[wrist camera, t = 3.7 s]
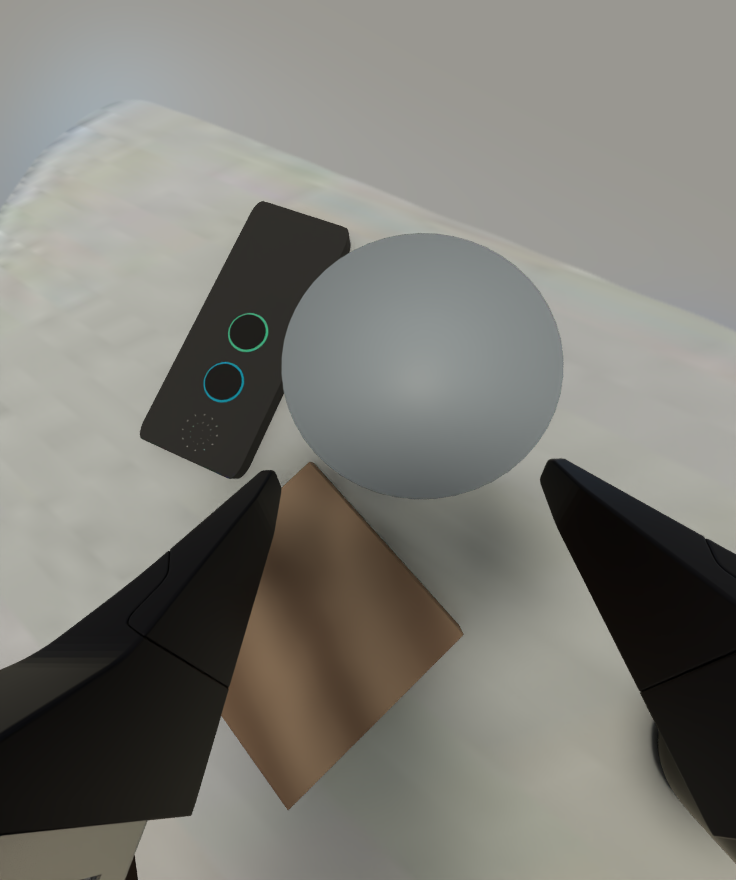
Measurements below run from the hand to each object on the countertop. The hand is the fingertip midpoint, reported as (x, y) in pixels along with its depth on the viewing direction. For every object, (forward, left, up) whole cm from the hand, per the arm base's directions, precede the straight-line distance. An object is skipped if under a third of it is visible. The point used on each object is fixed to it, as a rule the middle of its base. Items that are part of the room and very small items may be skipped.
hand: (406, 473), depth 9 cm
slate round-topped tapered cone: (+1, +2, -10) cm, 10 cm away
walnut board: (-11, -2, -10) cm, 15 cm away
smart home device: (-1, +15, -10) cm, 18 cm away
